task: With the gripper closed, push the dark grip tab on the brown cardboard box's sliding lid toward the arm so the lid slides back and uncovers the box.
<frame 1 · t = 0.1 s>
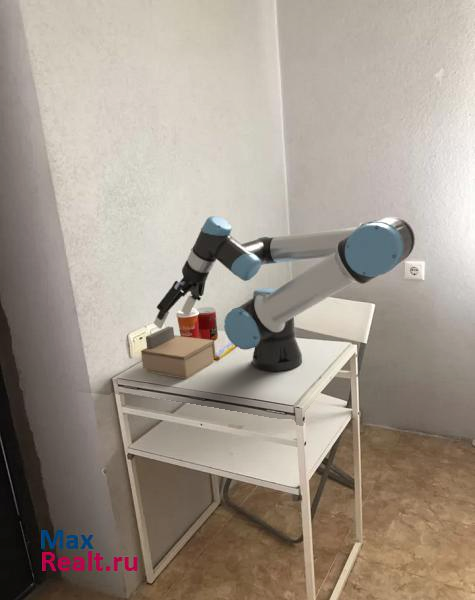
hand: (171, 319, 159), 15 cm above the table, tool tilted 35°, fingers open, 13 cm apart
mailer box: (180, 367, 161), on the table
box lid: (178, 348, 159), point 6 cm above the table, slide at 0.0 cm
candy bar: (226, 353, 172), on the table
paper cup: (191, 350, 176), on the table
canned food: (207, 339, 186), on the table
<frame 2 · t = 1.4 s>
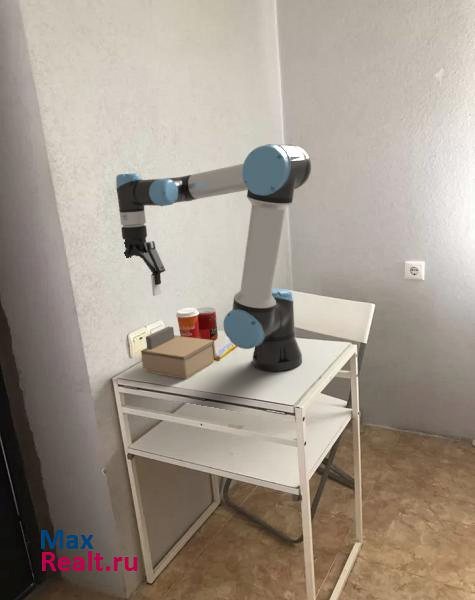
hand: (140, 292, 162), 23 cm above the table, tool pointing down, fingers open, 13 cm apart
nothing on the table moved.
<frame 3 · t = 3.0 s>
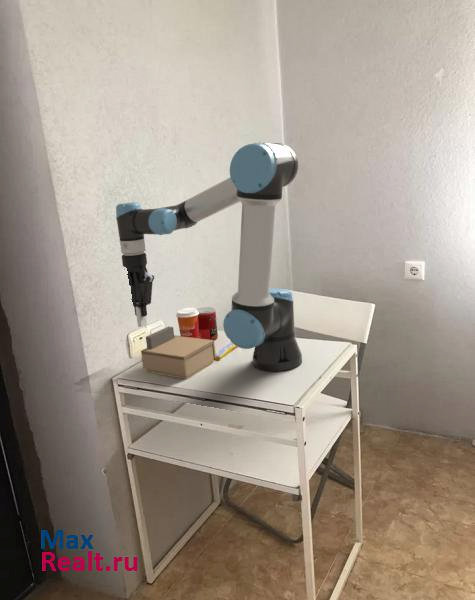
hand: (142, 325, 165), 12 cm above the table, tool pointing down, fingers closed
nothing on the table moved.
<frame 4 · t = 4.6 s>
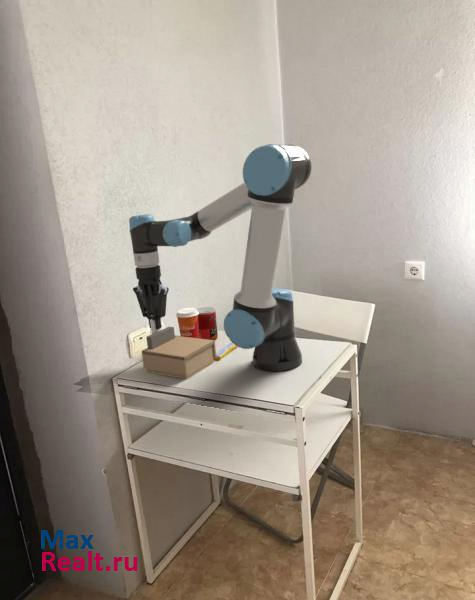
hand: (157, 338, 163), 9 cm above the table, tool pointing down, fingers closed
box lid: (178, 348, 159), point 6 cm above the table, slide at 0.2 cm, touching gripper
everything else where it was.
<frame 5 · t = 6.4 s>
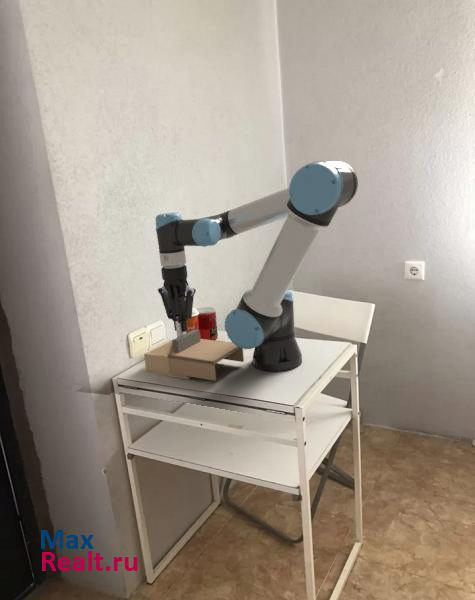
hand: (182, 341, 158), 9 cm above the table, tool pointing down, fingers closed
box lid: (205, 352, 154), point 6 cm above the table, slide at 10.5 cm, touching gripper
everything else where it was.
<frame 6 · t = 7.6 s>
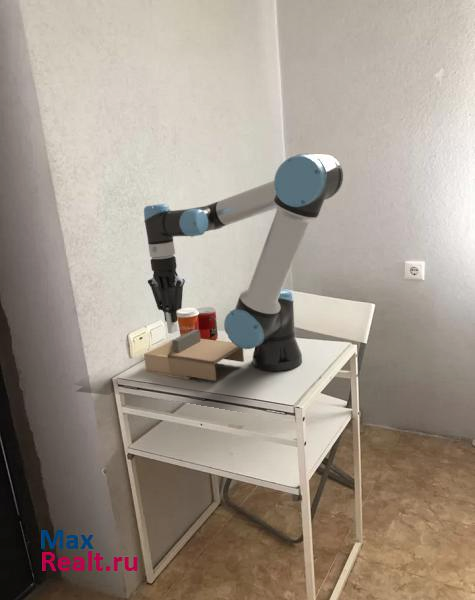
hand: (172, 331, 159), 11 cm above the table, tool pointing down, fingers closed
box lid: (205, 352, 154), point 6 cm above the table, slide at 10.5 cm
everything else where it was.
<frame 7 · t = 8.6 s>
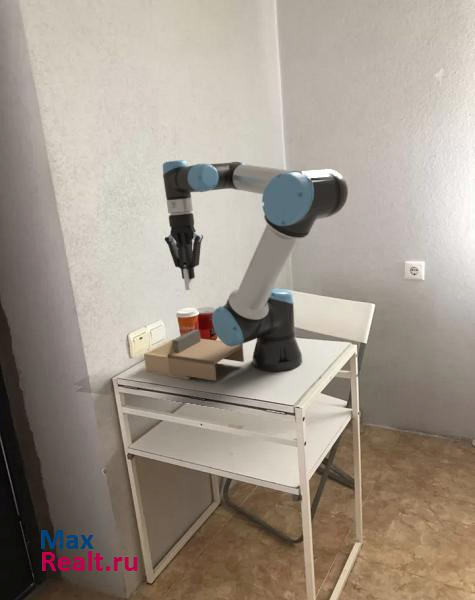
hand: (189, 288, 161), 23 cm above the table, tool pointing down, fingers closed
nothing on the table moved.
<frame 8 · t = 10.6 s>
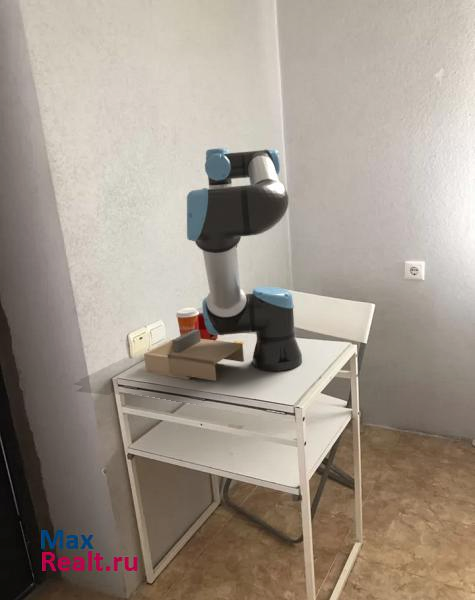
hand: (227, 269, 171), 26 cm above the table, tool pointing down, fingers closed
nothing on the table moved.
at the end: box lid slide at 10.5 cm; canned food moved 0.2 cm from its start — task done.
